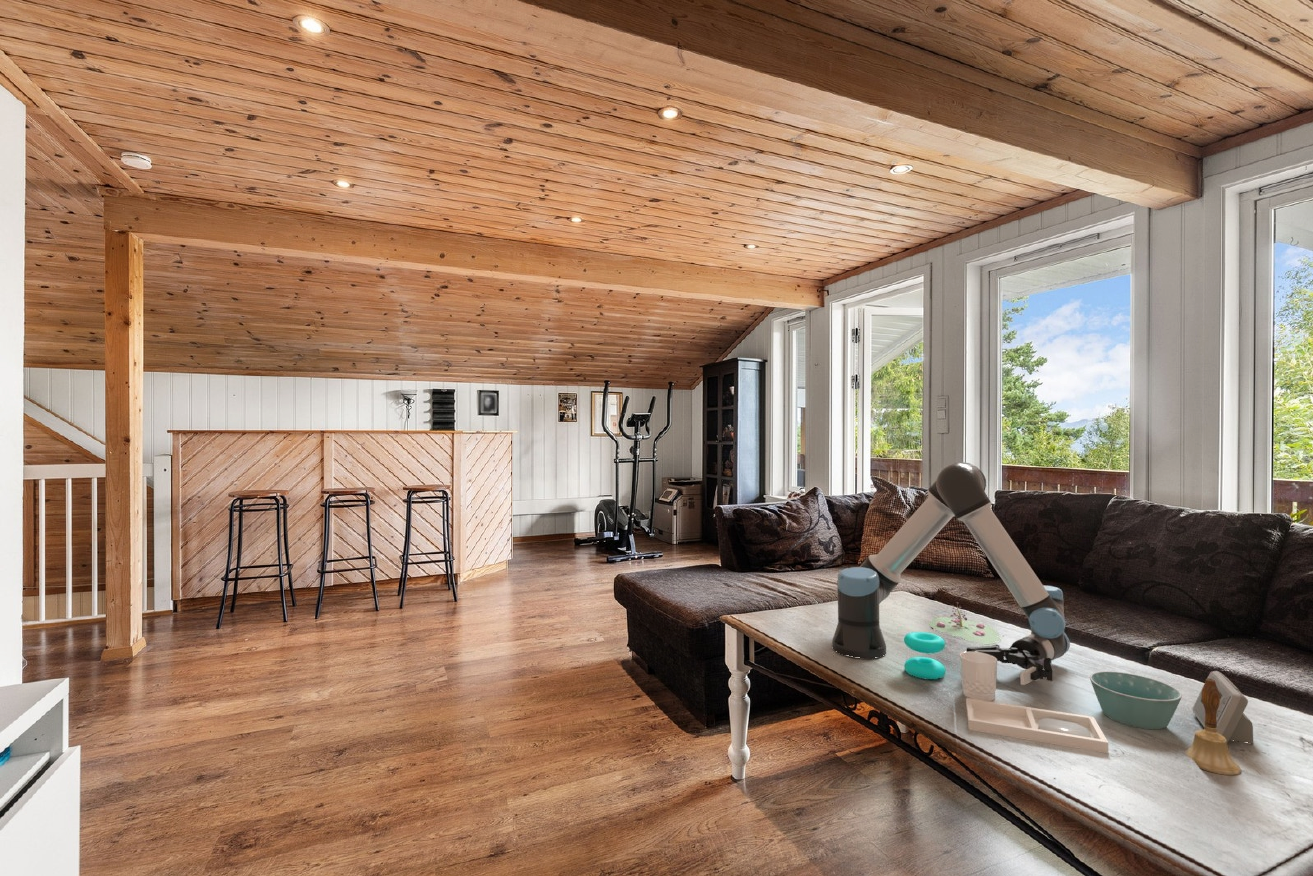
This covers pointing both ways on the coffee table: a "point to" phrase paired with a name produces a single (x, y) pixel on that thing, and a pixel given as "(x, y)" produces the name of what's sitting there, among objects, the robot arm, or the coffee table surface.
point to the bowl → (1135, 699)
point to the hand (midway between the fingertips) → (991, 670)
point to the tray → (1031, 724)
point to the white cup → (978, 675)
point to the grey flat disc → (1063, 727)
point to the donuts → (924, 665)
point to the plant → (966, 628)
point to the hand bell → (1212, 738)
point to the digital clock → (1228, 711)
